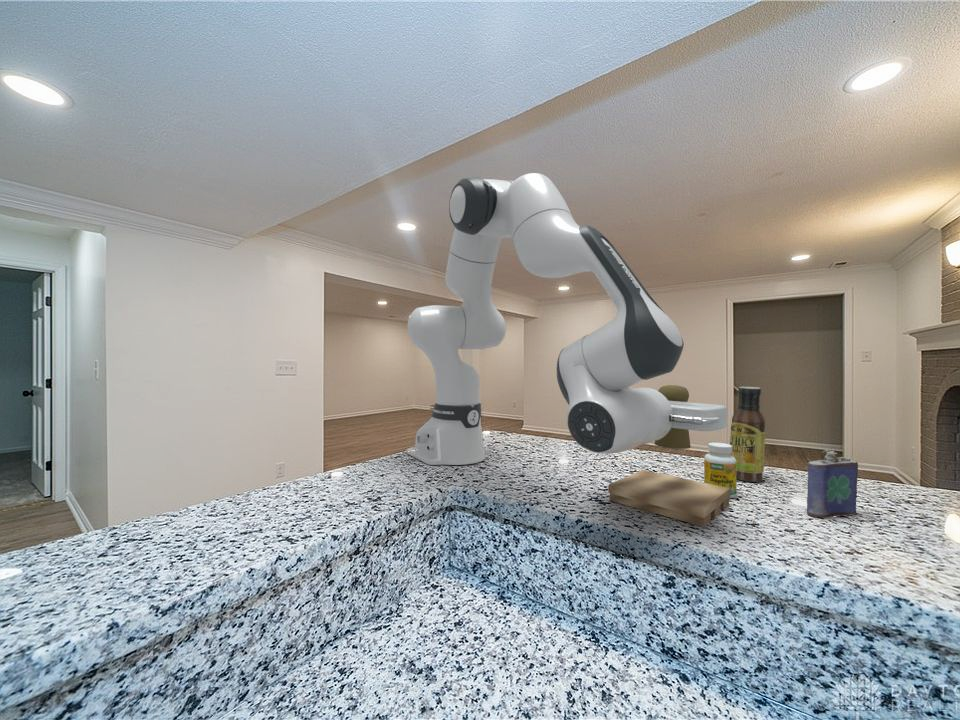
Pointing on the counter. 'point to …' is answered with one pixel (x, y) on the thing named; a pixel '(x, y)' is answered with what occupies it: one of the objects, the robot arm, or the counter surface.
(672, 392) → the cork
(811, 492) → the flask
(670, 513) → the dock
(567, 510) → the counter surface
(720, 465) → the supplement bottle
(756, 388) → the sauce bottle
